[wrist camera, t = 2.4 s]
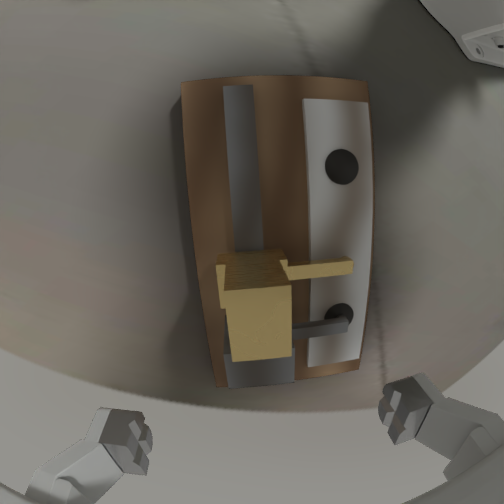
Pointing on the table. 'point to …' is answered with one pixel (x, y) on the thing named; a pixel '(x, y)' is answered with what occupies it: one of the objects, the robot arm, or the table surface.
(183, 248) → the table surface
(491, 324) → the table surface
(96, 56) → the table surface
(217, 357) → the board
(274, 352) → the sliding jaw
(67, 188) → the table surface
